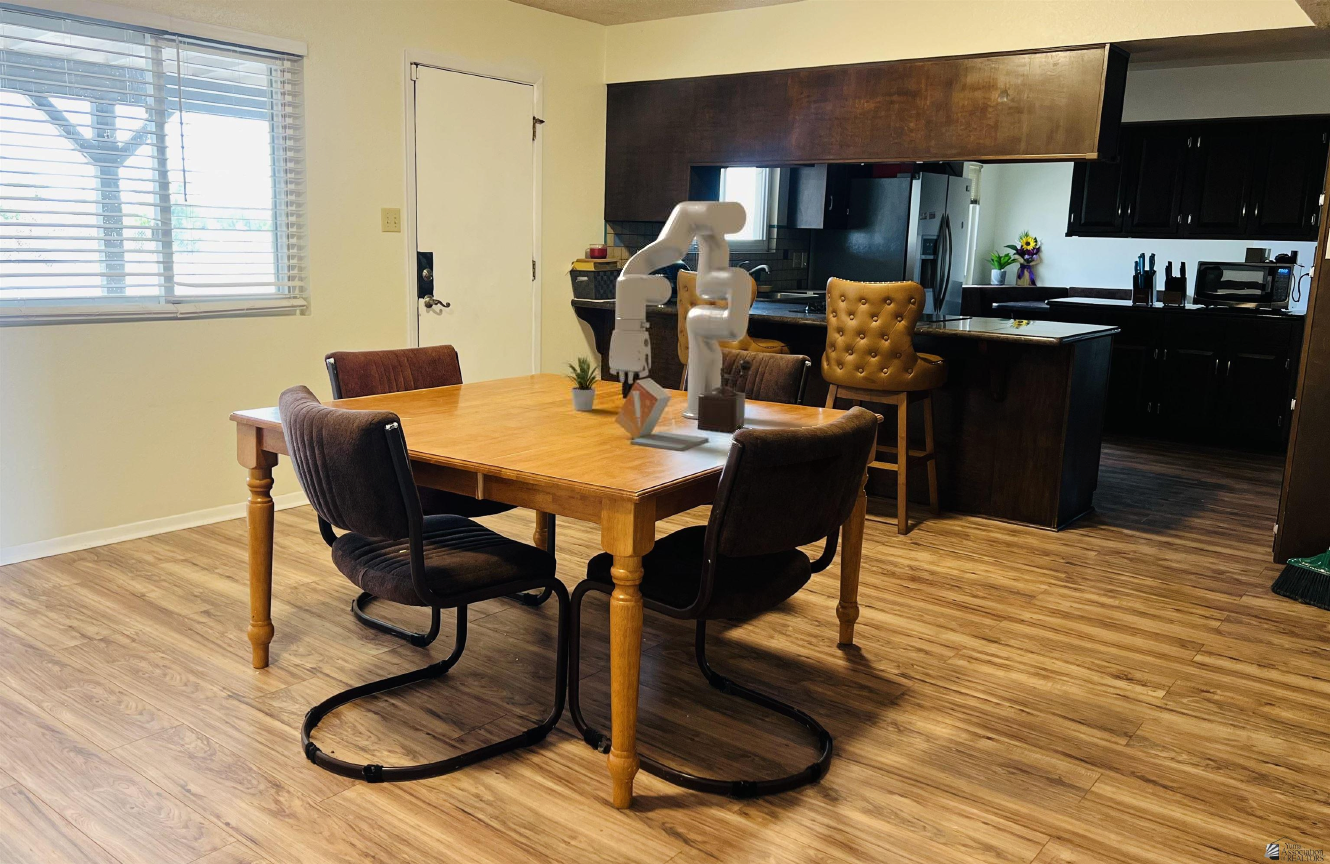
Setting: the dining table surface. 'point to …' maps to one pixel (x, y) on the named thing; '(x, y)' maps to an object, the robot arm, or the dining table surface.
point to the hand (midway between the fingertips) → (628, 398)
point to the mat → (669, 441)
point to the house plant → (583, 385)
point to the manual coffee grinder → (723, 404)
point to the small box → (643, 408)
